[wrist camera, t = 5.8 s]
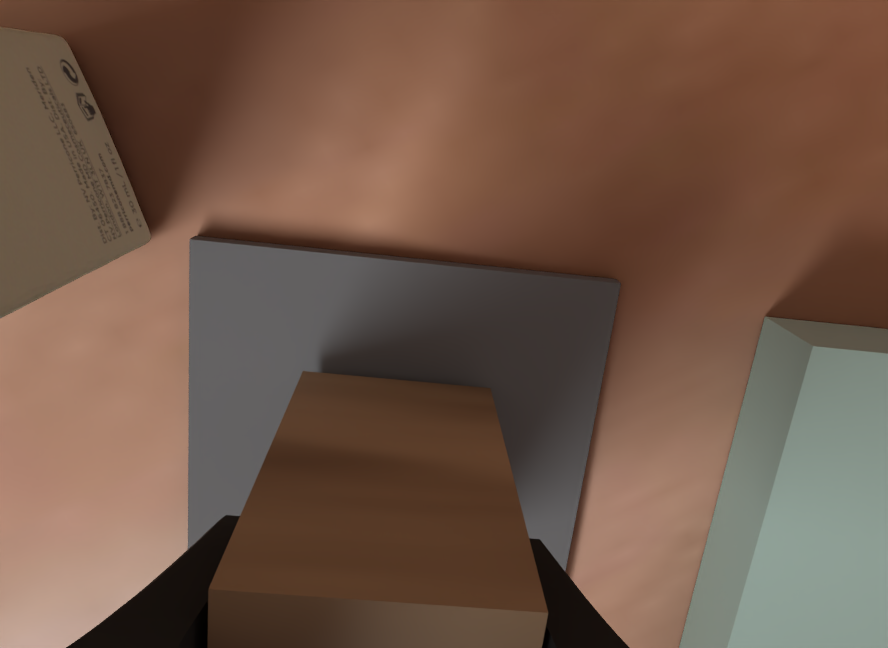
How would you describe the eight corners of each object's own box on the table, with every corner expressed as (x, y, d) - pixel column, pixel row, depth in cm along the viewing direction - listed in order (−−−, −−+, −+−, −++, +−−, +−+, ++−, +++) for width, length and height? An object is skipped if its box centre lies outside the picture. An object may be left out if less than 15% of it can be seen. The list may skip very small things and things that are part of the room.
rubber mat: (550, 620, 18) (553, 631, 18) (193, 594, 17) (187, 606, 17) (615, 278, 15) (620, 283, 15) (195, 235, 15) (189, 239, 14)
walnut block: (467, 547, 16) (502, 856, 10) (293, 535, 16) (204, 843, 9) (490, 388, 15) (548, 613, 8) (303, 370, 15) (208, 589, 8)
